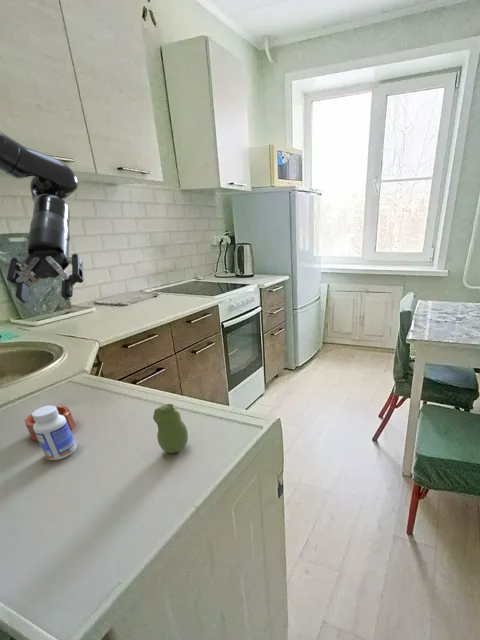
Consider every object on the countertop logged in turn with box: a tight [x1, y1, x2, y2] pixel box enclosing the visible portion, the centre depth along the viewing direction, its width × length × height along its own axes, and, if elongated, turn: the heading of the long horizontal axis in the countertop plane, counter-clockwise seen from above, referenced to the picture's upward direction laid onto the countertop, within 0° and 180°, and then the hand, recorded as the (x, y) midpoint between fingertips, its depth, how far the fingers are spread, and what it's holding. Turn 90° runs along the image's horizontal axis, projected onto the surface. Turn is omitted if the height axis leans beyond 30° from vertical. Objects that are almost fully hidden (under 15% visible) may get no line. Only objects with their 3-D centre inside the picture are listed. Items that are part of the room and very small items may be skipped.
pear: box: [152, 403, 189, 454], centre depth 67 cm, size 6×5×10 cm
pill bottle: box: [31, 405, 78, 461], centre depth 68 cm, size 5×5×10 cm
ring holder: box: [24, 405, 76, 443], centre depth 77 cm, size 8×8×4 cm
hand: (44, 299), depth 75 cm, fingers open, 8 cm apart
